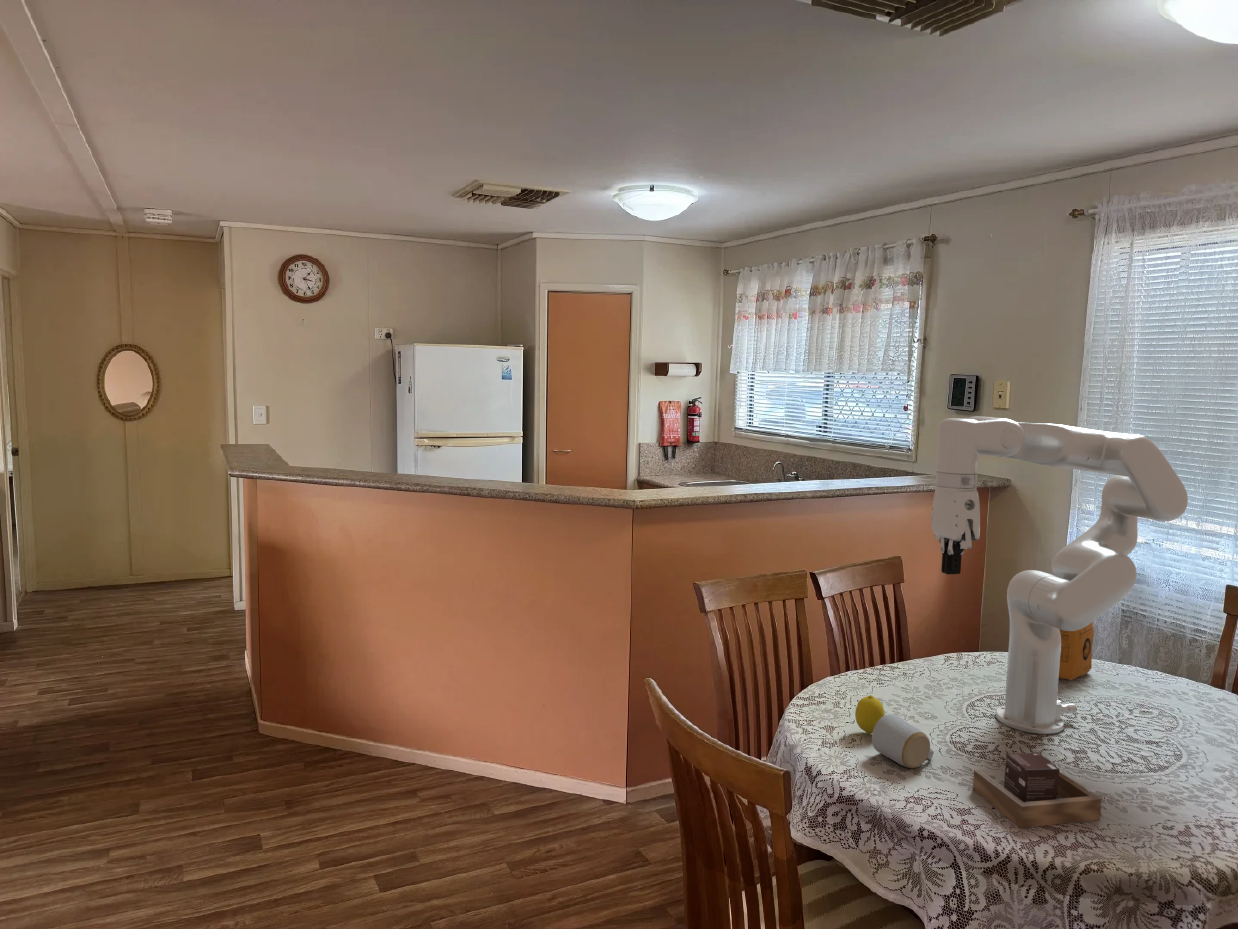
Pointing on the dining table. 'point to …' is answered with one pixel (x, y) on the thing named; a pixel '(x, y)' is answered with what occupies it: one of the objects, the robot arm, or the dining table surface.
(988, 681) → the dining table surface
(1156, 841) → the dining table surface
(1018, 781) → the box
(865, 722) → the lemon
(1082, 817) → the bay
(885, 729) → the ceramic mug
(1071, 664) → the coffee package
